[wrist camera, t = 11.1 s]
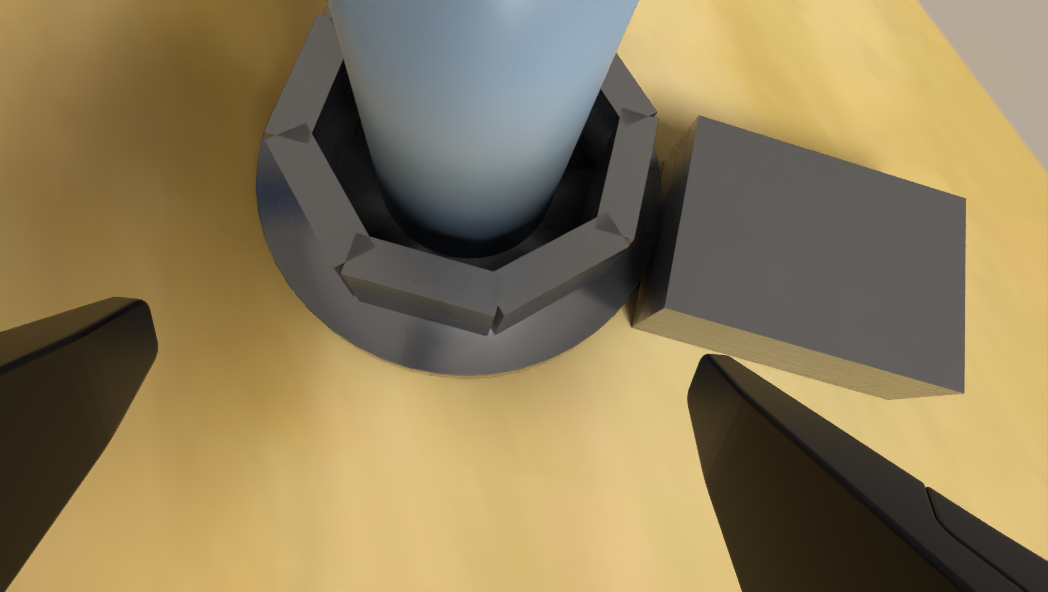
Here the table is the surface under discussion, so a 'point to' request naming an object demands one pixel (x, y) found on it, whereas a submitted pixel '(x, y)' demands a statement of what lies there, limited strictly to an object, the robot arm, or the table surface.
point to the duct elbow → (475, 107)
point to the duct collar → (625, 249)
